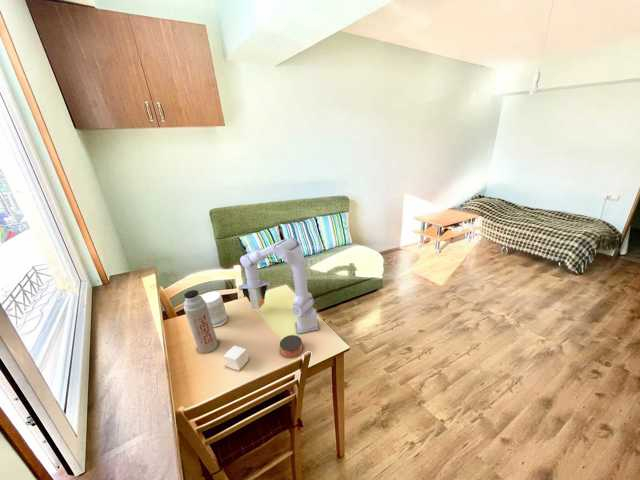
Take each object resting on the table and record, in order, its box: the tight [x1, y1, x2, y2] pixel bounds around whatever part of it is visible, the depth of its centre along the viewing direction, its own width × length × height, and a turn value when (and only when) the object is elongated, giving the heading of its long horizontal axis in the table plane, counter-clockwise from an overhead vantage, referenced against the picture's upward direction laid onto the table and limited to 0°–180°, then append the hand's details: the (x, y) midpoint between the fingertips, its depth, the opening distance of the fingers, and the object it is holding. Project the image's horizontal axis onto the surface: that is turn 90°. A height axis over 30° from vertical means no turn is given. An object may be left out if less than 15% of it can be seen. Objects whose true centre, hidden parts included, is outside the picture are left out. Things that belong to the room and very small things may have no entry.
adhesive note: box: [223, 345, 249, 372], centre depth 112 cm, size 6×6×6 cm
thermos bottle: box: [183, 289, 219, 354], centre depth 116 cm, size 8×8×28 cm
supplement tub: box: [200, 291, 229, 328], centre depth 134 cm, size 10×10×15 cm
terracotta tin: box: [279, 334, 303, 358], centre depth 119 cm, size 9×9×4 cm
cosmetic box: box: [248, 287, 265, 310], centre depth 139 cm, size 6×4×12 cm
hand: (257, 299), depth 140 cm, fingers closed on cosmetic box, 6 cm apart
